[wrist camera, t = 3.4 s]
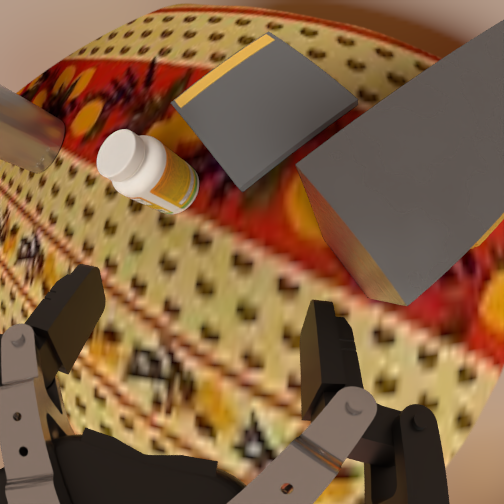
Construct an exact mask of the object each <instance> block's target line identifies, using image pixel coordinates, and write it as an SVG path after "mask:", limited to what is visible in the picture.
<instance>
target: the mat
mask: <svg viewBox="0 0 504 504" xmlns="http://www.w3.org/2000/svg"><path fill="white" fill-rule="evenodd" d="M171 104H172V105H173V106H174V108H175V109H176V110H177V111H178V112H179V114H180V115H181V116H182V117H183V119H184V120H185V121H186V122H187V124H188V125H189V126H190V127H191V129H192V130H193V131H194V132H195V134H196V135H197V136H198V137H199V139H200V140H201V141H202V142H203V144H204V145H205V146H206V147H207V149H208V150H209V151H210V152H211V154H212V155H213V156H214V157H215V159H216V160H217V161H218V163H219V164H220V165H221V166H222V168H223V169H224V170H225V171H226V173H227V174H228V175H229V177H230V178H231V179H232V180H233V182H234V183H235V184H236V186H237V187H238V188H239V189H240V190H241V191H242V192H244V191H245V190H246V189H247V188H249V187H250V186H251V185H252V184H254V183H255V182H256V181H257V180H259V179H260V178H261V177H262V176H264V175H265V174H266V173H267V172H269V171H270V170H271V169H273V168H274V167H275V166H276V165H278V164H279V163H280V162H282V161H283V160H284V159H285V158H287V157H288V156H289V155H291V154H292V153H293V152H295V151H296V150H297V149H299V148H300V147H301V146H303V145H304V144H305V143H306V142H308V141H309V140H310V139H312V138H313V137H314V136H316V135H317V134H319V133H320V132H321V131H323V130H324V129H325V128H327V127H328V126H329V125H331V124H332V123H333V122H335V121H336V120H338V119H339V118H340V117H342V116H343V115H344V114H346V113H347V112H349V111H350V110H351V109H353V108H354V107H356V106H357V105H358V99H357V98H356V97H355V96H354V95H352V94H351V93H350V92H349V91H348V90H347V89H345V88H344V87H343V86H342V85H341V84H339V83H338V82H337V81H336V80H335V79H333V78H332V77H331V76H330V75H328V74H327V73H326V72H325V71H323V70H322V69H321V68H319V67H318V66H317V65H315V64H314V63H313V62H312V61H310V60H309V59H307V58H306V57H305V56H303V55H302V54H301V53H299V52H298V51H296V50H295V49H294V48H292V47H291V46H289V45H288V44H286V43H285V42H284V41H282V40H281V39H279V38H278V37H276V36H275V35H273V34H272V33H270V32H267V33H266V34H264V35H263V36H261V37H259V38H258V39H256V40H255V41H253V42H252V43H250V44H249V45H247V46H246V47H244V48H243V49H241V50H240V51H238V52H237V53H235V54H234V55H232V56H231V57H229V58H228V59H227V60H225V61H224V62H222V63H221V64H220V65H218V66H217V67H216V68H214V69H213V70H211V71H210V72H209V73H207V74H206V75H205V76H204V77H202V78H201V79H200V80H198V81H197V82H196V83H194V84H193V85H192V86H191V87H189V88H188V89H187V90H186V91H184V92H183V93H182V94H181V95H180V96H178V97H177V98H176V99H175V100H174V101H172V102H171Z"/></svg>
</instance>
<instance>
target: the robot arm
mask: <svg viewBox="0 0 504 504" xmlns="http://www.w3.org/2000/svg"><path fill="white" fill-rule="evenodd" d="M64 133H65V126H64V123H63V121H62V120H60V119H59V118H57V117H55V116H53V115H52V114H50V113H48V112H47V111H45V110H43V109H42V108H40V107H38V106H36V105H35V104H33V103H31V102H29V101H28V100H26V99H24V98H23V97H21V96H19V95H17V94H16V93H14V92H12V91H10V90H9V89H7V88H5V87H3V86H2V85H0V159H1V160H4V161H6V162H9V163H11V164H14V165H16V166H19V167H21V168H24V169H26V170H29V171H31V172H34V173H41V172H42V171H44V170H45V169H46V168H48V166H49V165H50V164H51V163H52V161H53V160H54V159H55V157H56V155H57V154H58V152H59V149H60V147H61V145H62V142H63V138H64ZM104 308H105V294H104V289H103V285H102V280H101V275H100V270H99V268H98V267H94V266H89V265H84V264H79V265H78V266H77V267H76V268H75V270H74V271H73V272H72V273H71V274H70V275H68V274H67V275H66V276H64V277H63V278H61V279H60V280H58V281H57V282H56V283H55V285H54V286H53V287H52V288H51V290H50V292H48V293H47V295H46V296H45V299H43V300H42V301H41V302H40V304H39V305H38V306H37V308H36V309H35V310H34V312H33V313H32V314H31V316H30V317H29V318H28V320H27V321H26V322H25V324H16V325H14V326H12V327H10V328H9V329H7V330H6V332H5V333H4V334H0V445H1V451H2V456H3V462H4V468H2V469H0V504H313V503H314V502H315V501H316V499H317V498H318V497H319V496H320V495H321V494H322V492H323V491H324V490H325V489H326V487H327V486H328V485H329V484H330V482H331V481H332V480H333V479H334V477H335V476H336V475H337V473H338V472H339V470H340V469H341V465H342V464H343V462H344V461H345V459H346V458H349V459H353V460H356V461H360V462H364V478H365V504H449V495H448V486H447V479H446V471H445V464H444V458H443V452H442V446H441V440H440V435H439V430H438V425H437V420H436V418H435V415H434V414H433V413H432V411H431V410H429V409H428V408H427V407H425V406H423V405H419V404H413V405H409V406H407V407H406V408H405V409H404V410H403V411H398V410H395V409H391V408H388V407H384V406H381V405H379V404H377V403H376V401H375V399H374V398H373V396H372V395H371V394H370V393H369V392H368V391H366V390H364V388H363V383H362V378H361V372H360V367H359V361H358V356H357V352H356V346H355V342H354V336H353V332H352V328H351V326H350V325H349V324H348V322H347V321H346V319H345V318H344V317H335V311H334V306H333V303H332V302H328V301H319V300H311V302H310V305H309V308H308V311H307V315H306V318H305V321H304V324H303V327H302V331H301V336H300V366H301V406H302V420H309V421H311V424H310V425H309V427H308V428H307V429H306V430H305V431H304V432H303V433H302V434H301V435H300V436H299V437H297V438H296V439H295V440H293V441H292V442H291V443H290V444H289V445H288V446H287V447H286V449H285V450H284V451H283V452H282V453H281V454H280V455H279V456H278V457H277V458H276V459H275V460H274V461H273V462H272V463H271V464H270V465H269V466H268V467H267V468H266V469H264V470H263V471H262V472H261V473H260V474H259V475H258V476H257V477H256V478H255V479H254V480H253V481H252V482H251V483H250V484H248V485H247V486H246V485H245V484H244V483H243V482H241V481H240V480H239V479H237V478H236V477H234V476H233V475H231V474H229V473H227V472H225V471H223V470H220V469H218V468H217V464H218V461H212V460H206V459H200V458H194V457H189V456H184V455H145V454H143V453H141V452H139V451H137V450H135V449H133V448H132V447H130V446H128V445H126V444H125V443H123V442H121V441H119V440H118V439H116V438H114V437H111V436H108V435H105V434H102V433H99V432H96V431H94V430H91V429H88V428H85V430H84V432H83V435H75V434H74V432H73V429H72V428H71V426H70V424H69V421H68V418H67V415H66V411H65V407H64V403H63V399H62V394H61V390H60V385H59V380H58V378H57V376H56V374H57V372H58V371H60V372H63V373H66V374H69V372H70V370H71V369H72V367H73V365H74V363H75V361H76V359H77V357H78V355H79V354H80V352H81V350H82V348H83V346H84V345H85V343H86V341H87V339H88V337H89V336H90V334H91V332H92V330H93V329H94V327H95V325H96V324H97V322H98V320H99V318H100V317H101V315H102V313H103V311H104Z"/></svg>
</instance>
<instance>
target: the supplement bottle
mask: <svg viewBox="0 0 504 504" xmlns="http://www.w3.org/2000/svg"><path fill="white" fill-rule="evenodd" d="M97 168H98V171H99V172H100V174H101V175H103V176H104V177H106V178H108V179H110V180H111V181H112V184H113V186H114V187H115V189H116V190H117V191H118V192H119V193H121V194H122V195H124V196H126V197H128V198H131V199H133V200H135V201H137V202H139V203H142V204H144V205H146V206H149V207H151V208H153V209H155V210H157V211H160V212H162V213H165V214H177V213H180V212H182V211H184V210H185V209H187V208H188V207H189V206H190V205H191V204H192V203H193V201H194V200H195V198H196V196H197V193H198V190H199V178H198V175H197V173H196V171H195V170H194V169H193V168H192V167H191V166H190V165H189V164H188V163H187V162H185V161H184V160H183V159H181V158H180V157H179V156H178V155H176V154H175V153H174V152H173V151H171V150H170V149H169V148H167V147H166V146H165V145H164V144H162V143H161V142H160V141H159V140H157V139H155V138H154V137H151V136H146V135H142V136H138V135H136V134H135V133H133V132H132V131H130V130H127V129H121V130H118V131H116V132H114V133H113V134H111V135H110V136H109V137H108V138H107V139H106V140H105V141H104V143H103V144H102V146H101V148H100V150H99V153H98V156H97Z"/></svg>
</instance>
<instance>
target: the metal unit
mask: <svg viewBox="0 0 504 504" xmlns="http://www.w3.org/2000/svg"><path fill="white" fill-rule="evenodd" d="M295 165H296V168H297V170H298V173H299V175H300V178H301V180H302V183H303V185H304V188H305V190H306V193H307V195H308V198H309V201H310V203H311V206H312V209H313V211H314V214H315V217H316V219H317V222H318V225H319V227H320V230H321V233H322V236H323V238H324V241H325V242H326V243H327V244H328V246H329V247H330V248H331V250H332V251H333V252H334V254H335V255H336V256H337V257H338V259H339V260H340V261H341V263H342V264H343V265H344V267H345V268H346V269H347V271H348V272H349V273H350V275H351V276H352V277H353V279H354V280H355V281H356V283H357V284H358V285H359V287H360V288H361V289H362V291H363V292H364V294H365V295H366V296H367V298H371V299H375V300H380V301H385V302H390V303H395V304H400V305H404V306H408V305H409V304H410V303H411V302H413V301H414V300H415V299H416V298H417V297H419V296H420V295H421V294H422V293H423V292H424V291H425V290H427V289H428V288H429V287H430V286H431V285H432V284H433V283H434V282H436V281H437V280H438V279H439V278H440V277H441V276H442V275H443V274H444V273H445V272H447V271H448V270H449V269H450V268H451V267H452V266H453V265H454V264H455V263H456V262H457V261H458V260H459V259H460V258H461V257H462V256H463V255H464V254H465V253H466V252H467V251H468V250H469V249H471V248H474V247H477V246H479V245H480V244H481V243H482V242H483V241H484V240H485V239H486V238H487V237H488V236H489V235H490V233H491V232H492V231H493V230H494V229H495V228H496V227H497V226H498V225H499V224H500V222H501V221H502V220H503V219H504V20H503V21H501V22H499V23H498V24H496V25H494V26H493V27H491V28H490V29H488V30H486V31H485V32H483V33H482V34H480V35H478V36H477V37H475V38H474V39H472V40H470V41H469V42H467V43H466V44H464V45H463V46H461V47H460V48H458V49H456V50H455V51H453V52H452V53H450V54H449V55H448V56H446V57H444V58H443V59H441V60H440V61H438V62H437V63H435V64H434V65H432V66H431V67H429V68H428V69H426V70H425V71H423V72H422V73H420V74H419V75H417V76H416V77H415V78H413V79H412V80H410V81H409V82H407V83H406V84H404V85H403V86H402V87H400V88H399V89H397V90H396V91H394V92H393V93H392V94H390V95H389V96H387V97H386V98H384V99H383V100H382V101H380V102H379V103H377V104H376V105H375V106H373V107H372V108H370V109H369V110H368V111H366V112H365V113H364V114H362V115H361V116H359V117H358V118H357V119H355V120H354V121H353V122H351V123H350V124H349V125H347V126H346V127H344V128H343V129H342V130H340V131H339V132H338V133H336V134H335V135H334V136H332V137H331V138H330V139H328V140H327V141H326V142H324V143H323V144H322V145H320V146H319V147H318V148H316V149H315V150H314V151H312V152H311V153H310V154H308V155H307V156H306V157H305V158H303V159H302V160H301V161H299V162H298V163H297V164H295Z"/></svg>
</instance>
